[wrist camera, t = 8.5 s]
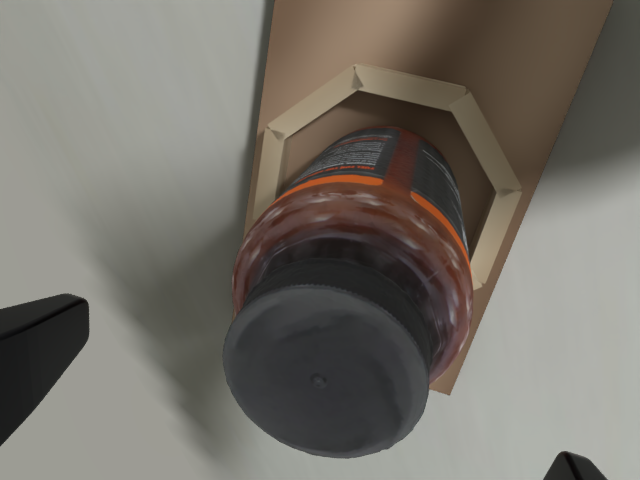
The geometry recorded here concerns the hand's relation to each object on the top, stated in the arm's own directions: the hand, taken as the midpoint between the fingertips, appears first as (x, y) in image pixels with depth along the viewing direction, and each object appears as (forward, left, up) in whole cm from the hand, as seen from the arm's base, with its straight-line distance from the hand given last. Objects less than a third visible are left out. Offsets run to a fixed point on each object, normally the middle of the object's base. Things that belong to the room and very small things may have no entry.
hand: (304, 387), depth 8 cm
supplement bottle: (0, 0, -12) cm, 12 cm away
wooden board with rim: (0, 0, -13) cm, 13 cm away
